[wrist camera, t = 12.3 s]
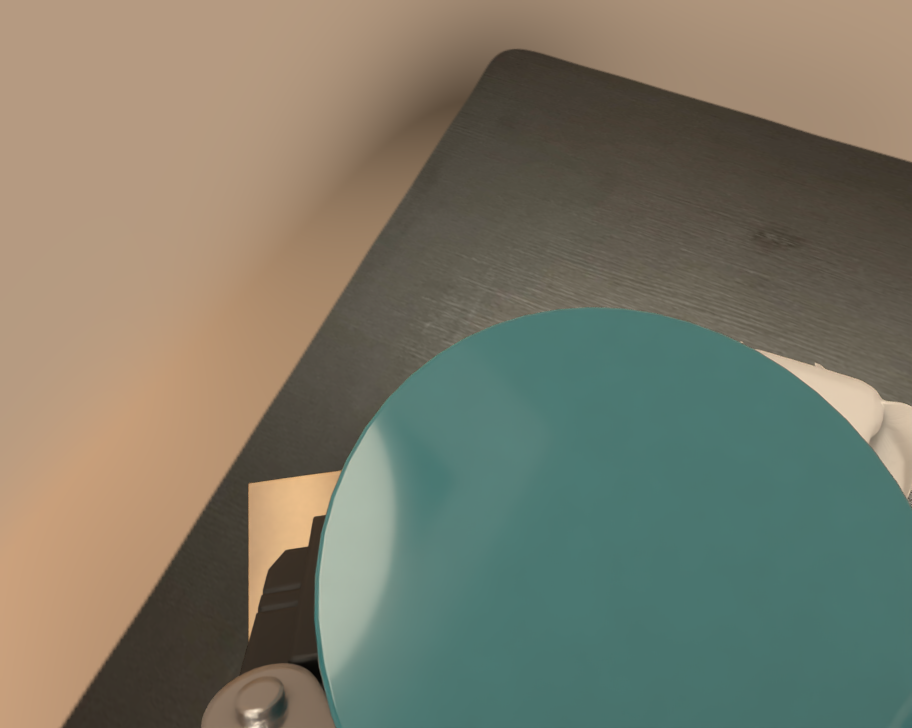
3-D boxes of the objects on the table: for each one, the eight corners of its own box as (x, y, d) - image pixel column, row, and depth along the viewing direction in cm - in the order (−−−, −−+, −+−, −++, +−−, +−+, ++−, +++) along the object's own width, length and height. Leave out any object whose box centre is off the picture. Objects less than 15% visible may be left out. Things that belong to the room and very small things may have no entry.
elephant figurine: (838, 395, 38) (940, 316, 31) (825, 591, 33) (946, 555, 25) (682, 348, 40) (741, 260, 32) (644, 528, 34) (705, 476, 26)
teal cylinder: (405, 843, 12) (334, 1086, 4) (375, 534, 15) (299, 339, 7) (701, 784, 13) (1119, 903, 5) (618, 496, 16) (797, 276, 8)
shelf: (281, 706, 30) (248, 706, 24) (277, 517, 34) (248, 483, 29) (470, 673, 31) (477, 666, 25) (443, 493, 35) (444, 455, 30)
